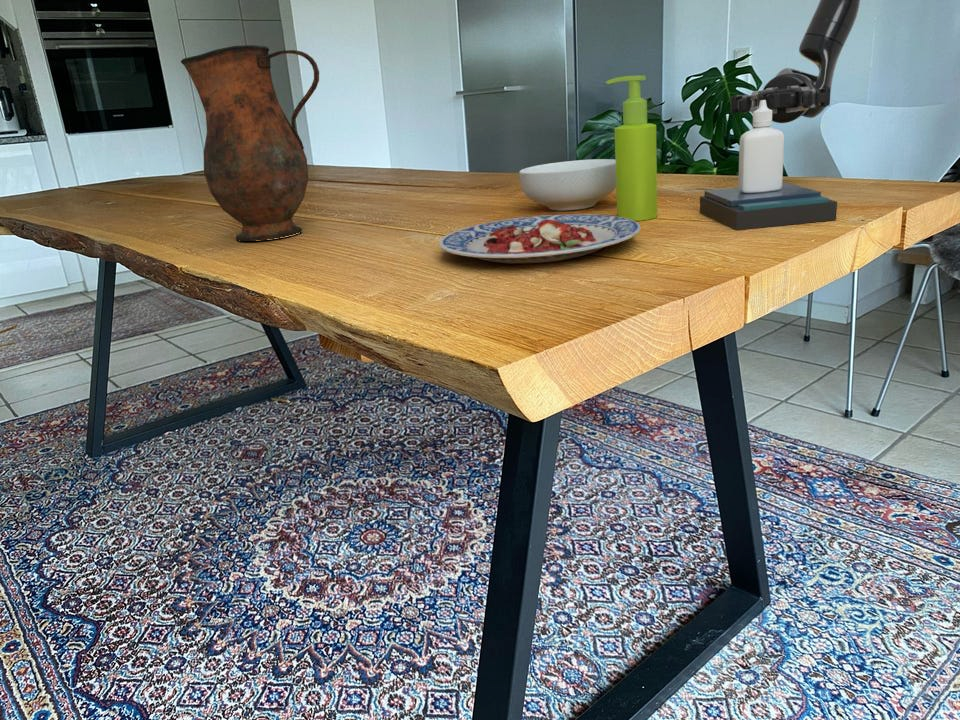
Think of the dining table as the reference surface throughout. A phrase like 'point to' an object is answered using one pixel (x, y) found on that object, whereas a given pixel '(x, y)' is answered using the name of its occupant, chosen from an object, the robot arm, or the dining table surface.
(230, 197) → the pitcher
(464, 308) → the dining table surface
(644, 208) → the soap dispenser
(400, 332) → the dining table surface
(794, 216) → the scale
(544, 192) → the cereal bowl
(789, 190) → the scale plate
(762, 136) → the eye dropper bottle
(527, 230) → the ceramic plate
